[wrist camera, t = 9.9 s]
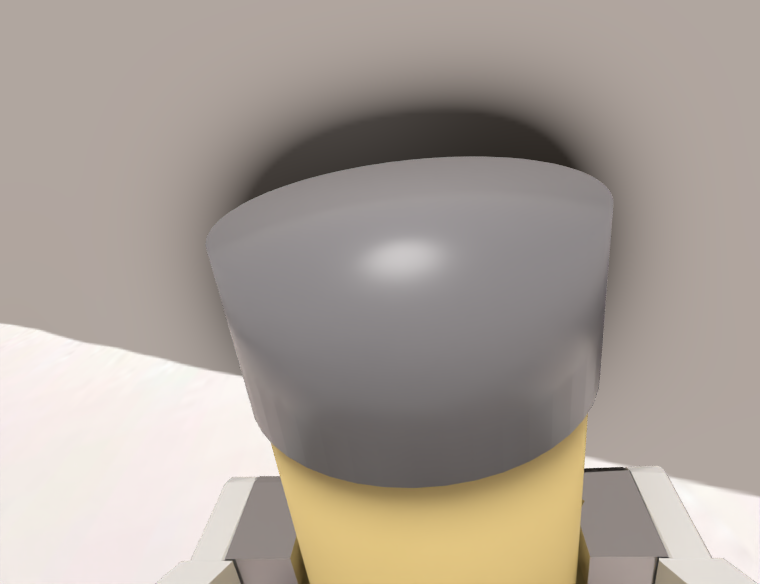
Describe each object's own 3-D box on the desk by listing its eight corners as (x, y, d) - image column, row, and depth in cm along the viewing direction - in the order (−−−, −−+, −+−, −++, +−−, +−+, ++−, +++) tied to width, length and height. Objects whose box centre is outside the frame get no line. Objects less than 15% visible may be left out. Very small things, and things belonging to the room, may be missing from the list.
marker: (422, 975, 8) (258, 351, 3) (332, 710, 12) (183, 206, 7) (616, 815, 10) (720, 199, 5) (485, 620, 13) (460, 144, 8)
